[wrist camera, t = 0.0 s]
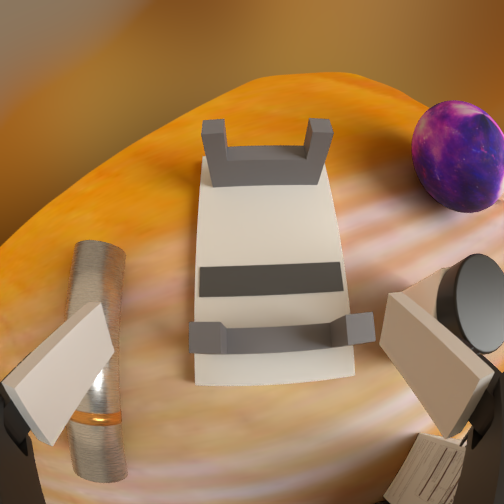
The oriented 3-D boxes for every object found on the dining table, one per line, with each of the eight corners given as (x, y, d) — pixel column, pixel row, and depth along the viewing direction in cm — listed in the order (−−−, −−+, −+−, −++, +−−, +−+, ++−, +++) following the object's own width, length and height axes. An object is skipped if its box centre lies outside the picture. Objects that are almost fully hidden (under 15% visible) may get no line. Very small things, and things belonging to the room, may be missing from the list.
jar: (428, 373, 23) (503, 369, 12) (373, 352, 25) (443, 342, 14) (447, 303, 26) (515, 271, 15) (397, 277, 28) (460, 231, 17)
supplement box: (379, 497, 18) (458, 562, 2) (417, 430, 21) (526, 457, 5) (432, 499, 16) (510, 539, 1) (464, 439, 19) (559, 453, 4)
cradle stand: (350, 374, 24) (397, 380, 15) (198, 383, 24) (167, 397, 15) (320, 161, 34) (336, 102, 24) (204, 163, 34) (191, 103, 24)
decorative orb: (418, 136, 37) (453, 70, 23) (480, 196, 32) (530, 143, 18) (377, 175, 33) (422, 90, 19) (454, 252, 29) (528, 195, 15)
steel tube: (137, 469, 20) (111, 488, 14) (91, 456, 20) (62, 469, 14) (135, 260, 29) (110, 238, 23) (92, 262, 29) (64, 242, 23)
